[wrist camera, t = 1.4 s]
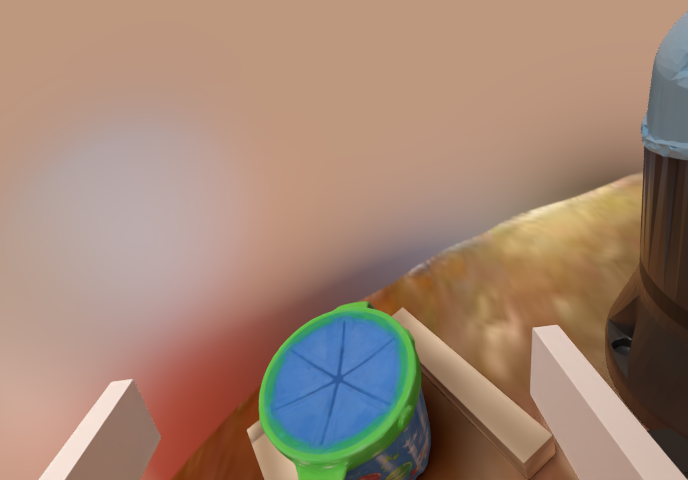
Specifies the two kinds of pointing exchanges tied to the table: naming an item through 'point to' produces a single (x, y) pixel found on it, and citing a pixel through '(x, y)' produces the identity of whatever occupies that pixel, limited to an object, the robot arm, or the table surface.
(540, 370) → the robot arm
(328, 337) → the snack cup
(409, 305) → the table surface
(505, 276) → the table surface
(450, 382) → the wooden frame
